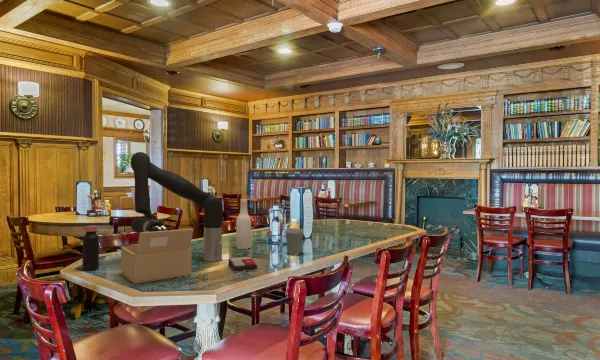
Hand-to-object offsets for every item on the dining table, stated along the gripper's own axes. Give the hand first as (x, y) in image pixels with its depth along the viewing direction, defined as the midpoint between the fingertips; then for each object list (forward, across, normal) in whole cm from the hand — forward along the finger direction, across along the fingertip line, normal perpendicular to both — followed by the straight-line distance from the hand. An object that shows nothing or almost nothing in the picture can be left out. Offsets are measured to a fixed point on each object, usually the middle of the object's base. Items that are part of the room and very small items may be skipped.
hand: (166, 233), depth 169 cm
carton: (-14, 0, +20) cm, 24 cm away
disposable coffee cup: (-18, +79, +20) cm, 84 cm away
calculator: (-4, +38, +21) cm, 44 cm away
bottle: (-39, -22, +20) cm, 49 cm away
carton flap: (-2, 0, +3) cm, 4 cm away
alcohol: (-48, +64, +20) cm, 82 cm away
